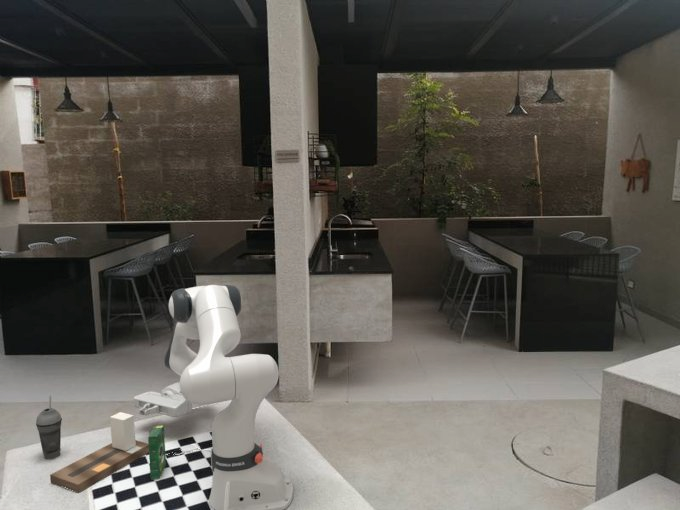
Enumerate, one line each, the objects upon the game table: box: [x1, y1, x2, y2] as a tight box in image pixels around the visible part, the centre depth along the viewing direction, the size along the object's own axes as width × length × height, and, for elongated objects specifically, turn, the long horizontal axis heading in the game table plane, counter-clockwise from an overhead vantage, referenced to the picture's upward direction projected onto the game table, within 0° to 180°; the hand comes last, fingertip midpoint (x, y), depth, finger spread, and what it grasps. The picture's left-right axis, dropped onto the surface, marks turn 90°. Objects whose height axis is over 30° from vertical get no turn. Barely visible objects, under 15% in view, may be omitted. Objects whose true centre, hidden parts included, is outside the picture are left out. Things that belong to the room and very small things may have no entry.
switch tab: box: [109, 411, 136, 451], centre depth 169 cm, size 4×6×10 cm, turn 63°
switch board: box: [49, 439, 149, 493], centre depth 162 cm, size 26×12×3 cm, turn 153°
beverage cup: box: [35, 395, 63, 461], centre depth 168 cm, size 7×7×20 cm
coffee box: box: [147, 424, 167, 481], centre depth 158 cm, size 8×3×13 cm, turn 4°
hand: (142, 412), depth 176 cm, fingers closed
